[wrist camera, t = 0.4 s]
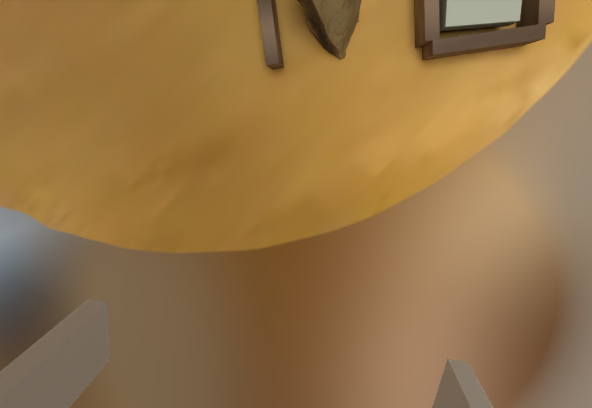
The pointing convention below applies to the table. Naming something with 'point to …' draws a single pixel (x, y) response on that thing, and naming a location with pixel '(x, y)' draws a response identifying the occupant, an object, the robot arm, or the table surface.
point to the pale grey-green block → (477, 13)
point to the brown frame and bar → (433, 31)
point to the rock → (332, 22)
